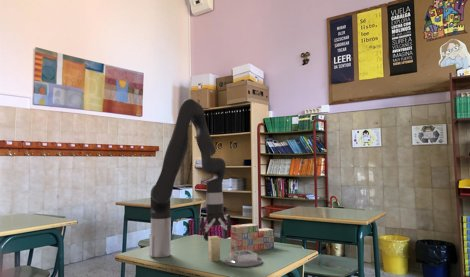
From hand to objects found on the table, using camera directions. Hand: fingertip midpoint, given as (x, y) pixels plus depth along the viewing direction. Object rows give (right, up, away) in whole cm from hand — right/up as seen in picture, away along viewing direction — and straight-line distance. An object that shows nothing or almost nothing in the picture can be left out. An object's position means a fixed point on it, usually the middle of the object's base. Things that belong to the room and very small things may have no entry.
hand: (215, 239), depth 163 cm
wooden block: (-1, -9, -2) cm, 9 cm away
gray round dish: (+12, -8, -6) cm, 16 cm away
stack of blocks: (+17, -10, +19) cm, 28 cm away
